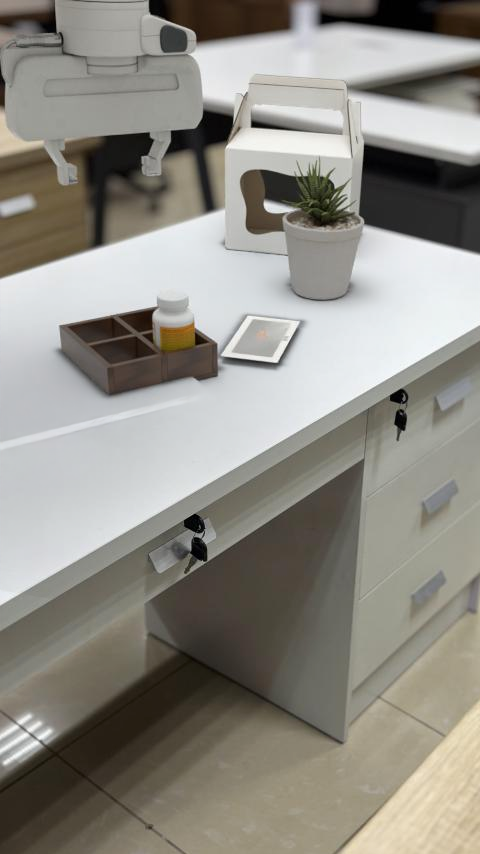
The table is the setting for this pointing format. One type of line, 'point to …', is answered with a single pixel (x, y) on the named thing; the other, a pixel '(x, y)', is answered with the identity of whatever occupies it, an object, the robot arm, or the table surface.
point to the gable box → (286, 156)
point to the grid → (133, 352)
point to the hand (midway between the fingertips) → (110, 179)
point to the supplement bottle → (173, 321)
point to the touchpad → (261, 339)
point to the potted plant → (321, 239)
